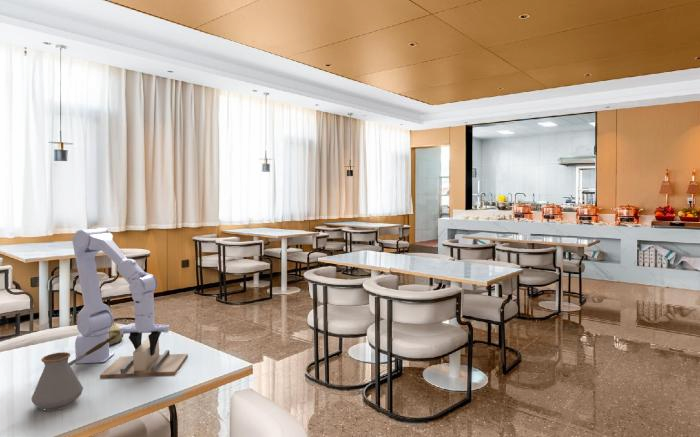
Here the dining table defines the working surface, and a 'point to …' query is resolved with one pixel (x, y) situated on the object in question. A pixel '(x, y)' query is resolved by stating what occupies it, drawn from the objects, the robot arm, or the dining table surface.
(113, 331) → the pastry
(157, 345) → the beige rectangular block
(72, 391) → the coffee pot
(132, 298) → the robot arm
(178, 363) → the tan panel with rails
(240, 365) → the dining table surface
